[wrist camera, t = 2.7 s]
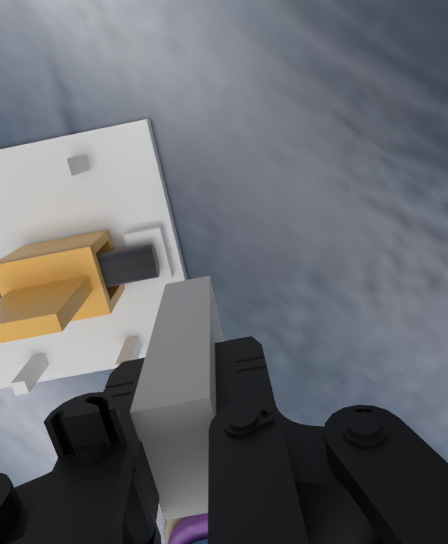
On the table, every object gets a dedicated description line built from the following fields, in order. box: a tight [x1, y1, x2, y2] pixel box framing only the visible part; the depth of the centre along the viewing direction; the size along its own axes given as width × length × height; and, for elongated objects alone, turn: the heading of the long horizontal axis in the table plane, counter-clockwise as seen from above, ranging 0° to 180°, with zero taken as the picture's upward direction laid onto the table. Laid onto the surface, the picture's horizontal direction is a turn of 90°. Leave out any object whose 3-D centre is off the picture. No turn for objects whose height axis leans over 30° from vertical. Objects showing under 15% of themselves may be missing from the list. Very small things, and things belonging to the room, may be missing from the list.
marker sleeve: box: [0, 230, 125, 343], centre depth 20 cm, size 5×4×8 cm
